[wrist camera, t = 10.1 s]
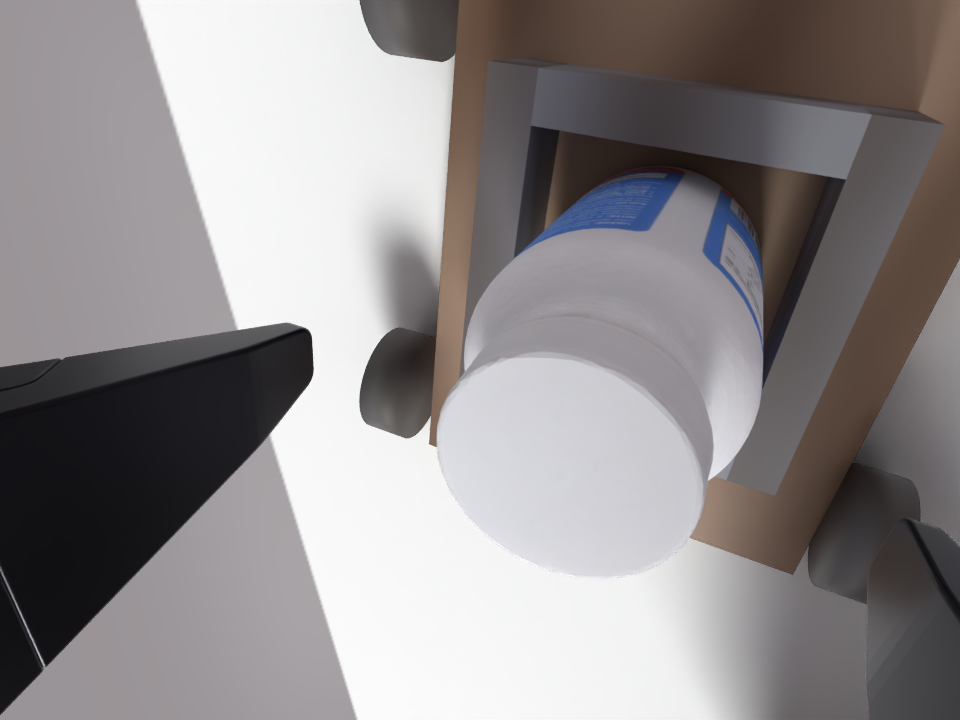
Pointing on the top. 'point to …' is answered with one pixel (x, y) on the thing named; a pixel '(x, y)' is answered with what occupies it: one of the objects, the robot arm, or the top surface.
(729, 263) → the pill bottle
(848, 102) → the chassis
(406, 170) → the top surface
